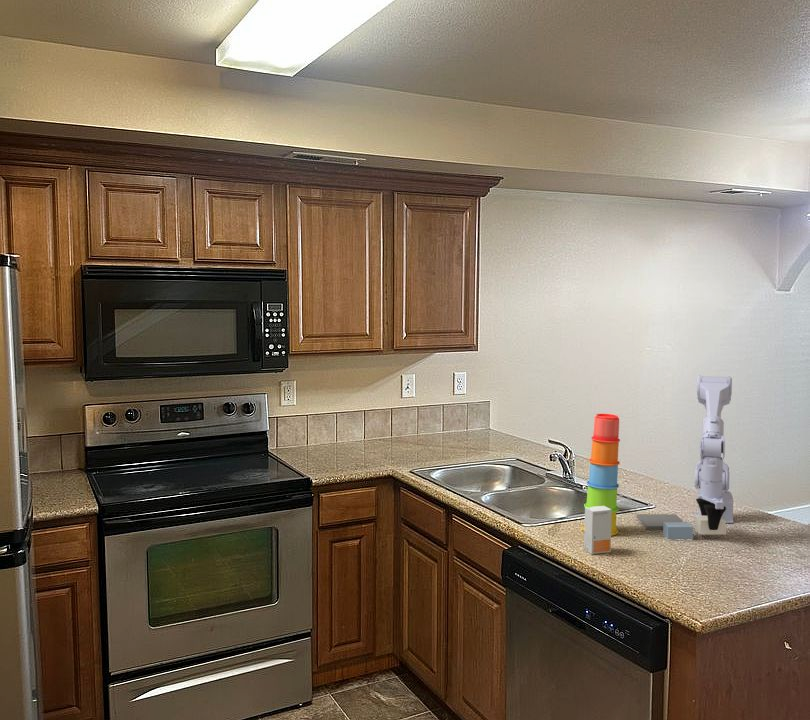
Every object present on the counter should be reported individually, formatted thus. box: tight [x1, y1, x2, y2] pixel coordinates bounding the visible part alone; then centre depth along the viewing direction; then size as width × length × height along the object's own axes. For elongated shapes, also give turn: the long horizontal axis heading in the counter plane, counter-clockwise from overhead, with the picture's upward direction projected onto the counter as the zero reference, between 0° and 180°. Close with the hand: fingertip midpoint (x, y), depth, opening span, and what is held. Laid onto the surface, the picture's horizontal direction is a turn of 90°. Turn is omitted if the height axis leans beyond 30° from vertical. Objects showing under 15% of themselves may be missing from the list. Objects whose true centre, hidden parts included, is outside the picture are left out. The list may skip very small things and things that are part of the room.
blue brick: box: [662, 521, 694, 540], centre depth 218 cm, size 7×4×4 cm, turn 88°
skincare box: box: [583, 506, 612, 555], centre depth 207 cm, size 6×4×12 cm
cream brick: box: [694, 516, 727, 535], centre depth 218 cm, size 7×4×4 cm, turn 87°
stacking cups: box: [581, 413, 621, 537], centre depth 223 cm, size 10×10×35 cm
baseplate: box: [636, 513, 684, 531], centre depth 231 cm, size 12×12×1 cm
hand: (710, 526), depth 218 cm, fingers closed on cream brick, 4 cm apart
